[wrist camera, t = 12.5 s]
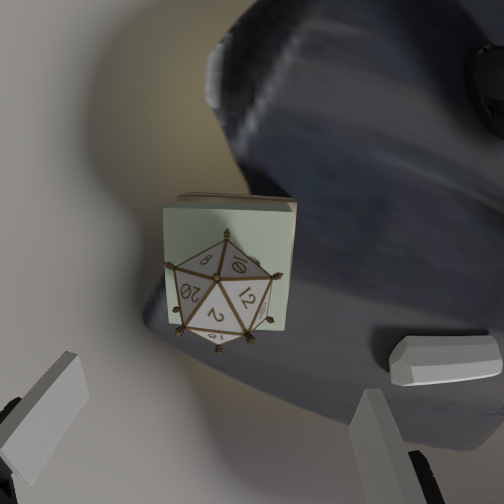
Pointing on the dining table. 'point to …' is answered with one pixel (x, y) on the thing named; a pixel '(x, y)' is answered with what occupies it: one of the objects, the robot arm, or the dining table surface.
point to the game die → (222, 294)
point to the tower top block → (242, 236)
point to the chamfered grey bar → (444, 359)
